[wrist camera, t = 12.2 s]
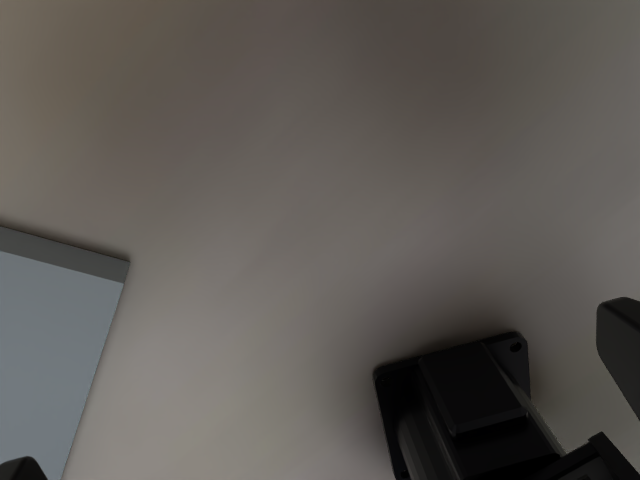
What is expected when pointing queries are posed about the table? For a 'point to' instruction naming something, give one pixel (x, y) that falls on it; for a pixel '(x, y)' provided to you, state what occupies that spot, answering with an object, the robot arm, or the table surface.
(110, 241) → the table surface
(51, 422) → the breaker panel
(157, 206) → the table surface
